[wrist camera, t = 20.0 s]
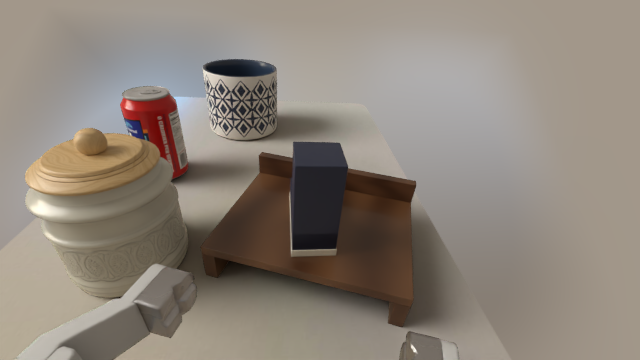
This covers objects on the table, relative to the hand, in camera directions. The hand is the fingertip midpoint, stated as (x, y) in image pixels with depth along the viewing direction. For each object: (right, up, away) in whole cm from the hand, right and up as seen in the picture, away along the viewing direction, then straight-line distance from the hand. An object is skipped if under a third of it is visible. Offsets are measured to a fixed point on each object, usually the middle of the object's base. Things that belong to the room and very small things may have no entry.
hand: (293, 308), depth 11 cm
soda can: (-27, +6, +43) cm, 52 cm away
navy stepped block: (0, -1, +27) cm, 27 cm away
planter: (-18, +18, +62) cm, 67 cm away
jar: (-23, -5, +27) cm, 36 cm away
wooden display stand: (+1, -5, +31) cm, 31 cm away
